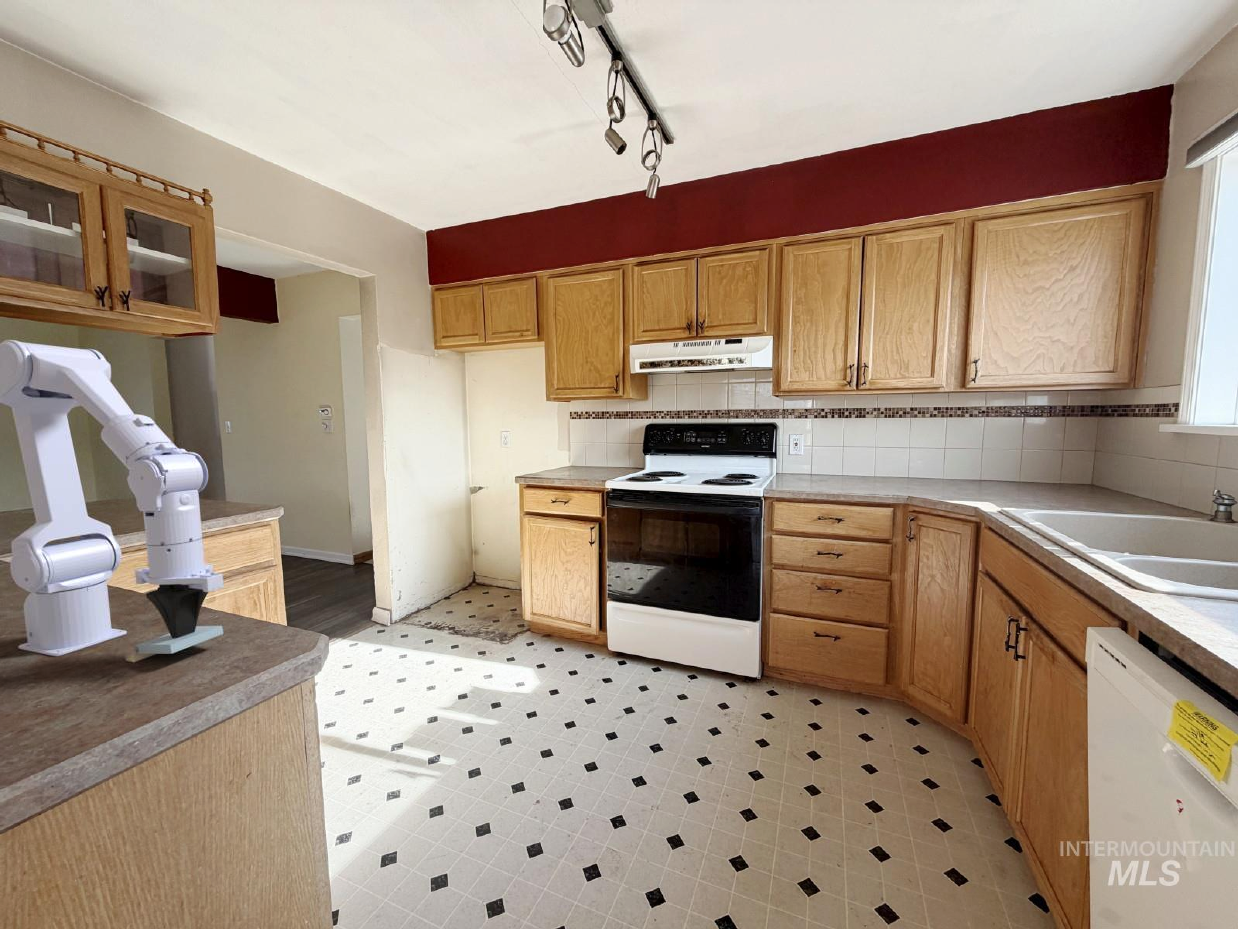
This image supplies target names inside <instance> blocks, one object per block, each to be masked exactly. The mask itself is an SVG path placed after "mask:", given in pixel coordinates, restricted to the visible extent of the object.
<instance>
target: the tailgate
mask: <svg viewBox="0 0 1238 929" xmlns="http://www.w3.org/2000/svg"><path fill="white" fill-rule="evenodd" d="M223 628H224V627H223V625H199V626H198V625H196V629H195V632H193V633H191V634H188V635H185V636H182V637H180V638H172V637H171V635H170V633H167V634H165V635H161V636H158V637H155V638H153V639H150V640H146V641H143V642H140V643H139V644H136V645H135V648H134V649H135V651H136V652H138V654H155V655H157V654H159V655H161V654H163V655H164V654H169V655H170V654H174V653H177V652H179V651H182V650H184V649H187V648H190V647H192V646H196V645H198V644H200V643H202V642H207V641H208V640H211V639H214V638H216V637H219V636H221V635H223V634H224V629H223Z"/></svg>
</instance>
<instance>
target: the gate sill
mask: <svg viewBox="0 0 1238 929" xmlns="http://www.w3.org/2000/svg"><path fill="white" fill-rule="evenodd" d="M154 655H156V654H138V652H136V651H135V648H133V649H130V650H127V651H125V652H124V656H125V661H127V662H132V663H136V662H138V661H141V660H143V659H146V658H150V657H152V656H154Z"/></svg>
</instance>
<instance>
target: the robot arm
mask: <svg viewBox="0 0 1238 929" xmlns="http://www.w3.org/2000/svg"><path fill="white" fill-rule="evenodd" d="M111 378H112V367H111V364H110V362H108V361H107V360H106V357H105V356H104V355H103V354H102V353H101V352H100V351H98V350H96V349H93V348H77V347H76V348H75V347H74V348H73V347H66V346H58V345H57V346H56V345H50V344H40V343H32V342H24V341H18V340H15V339H5V340H4V341H2V342H0V403H1V404H3V405H6V406H8V407H10V408H11V411H12V416H13V421H14V424H15V429H16V433H17V439H18V442H19V447H20V451H21V452H20V453H21V456H22V461H23V467H24V470H25V475H26V481H27V485H28V489H29V494H30V499H31V503H32V508H33V513H34V518H35V523H34V524H33V525H32V526H30V527H29V528H28V529H26V530H25V531H24V532H22V533H21V534H19V535H18V536H17V537H16V538H14V540H12V541H11V543H10V544H11V561H10V566H9V568H10V574H11V577H12V579H13V581H14V583H15V584H16V585H17V586H18V587H20V588H21V589H23V590H24V591H26V592H28V593H29V594H28V596H27V597H26V598H25V600H24V603H23V614H24V622H25V631H26V638H27V642H26V643H21V644H20V645H18V649H20V650H24V651H28V652H33V653H38V654H43V655H47V656H52V657H60V656H64V655H66V654H70V653H72V652H75V651H79V650H82V649H84V648H88V647H91V646H94V645H97V644H99V643H103V642H106V641H109V640H112V639H115V638H118V637H121V636H124V635H127V632H128V631H127V630H122V629H118V628H112V623H111V621H112V620H111V611H110V610H111V608H110V602H109V601H110V600H109V590H108V582H107V580H109V579H112V578H113V573H115V572H116V570H118V568H119V566H120V565H121V562H122V558H123V557H122V549H121V546H120V545H119V543H118V542H117V539H115V537H114V534H113V530H112V527H111V526H110V525H109V524H107V523H104V522H103V521H99V520H96V519H94V518H92V517H90V516H89V515H88V514H89V513H88V510H87V506H86V500H85V497H84V490H83V487H82V481H81V478H80V473H79V472H80V471H79V468H78V467H79V466H78V463H77V458H76V453H75V449H74V444H73V439H72V435H71V430H70V425H69V419H68V414H69V413H70V411H71V410H72V409H74V408H76V407H82V408H84V409H85V410H86V411H87V412H88V413H89V414H90V415H91V416H92V417H94V419H96V420H97V422H99V423H100V424H101V425H102V426H103V428H102V429H101V432H100V438H101V439H102V442H104V444H105V445H106V446H107V447H108V448H109V449H110V450H111V451H112V452H113V453H114V455H115V456H116V457H117V458H118V460H119V461H121V463H122V464H123V465H124V466H125V467H126V468H127V469H128V470H129V471H128V476H127V477H126V478H127V483H128V487H129V489H130V491H131V492H132V493H133V495H134V496H135V499H136V500H135V501H136V507H137V508H138V511H140V512H142V513H143V520H144V521H143V523H144V531H145V541H146V542H145V543H146V554H147V565H148V567H145V568H140V569H136V570H134V571H135V572H134V573H135V583H136V584H137V585H143V584H146V583H148V584H149V585H155V586H156V585H158V587H157V589H155V590H154V589H153V590H151V591H148V592H146V593H145V597H146V598H147V600H148V601H149V602H151V603H152V604H153V606H154V607H155V608H156V610H157V611H158V612H159V614H160V616H161V617H162V619H163V622H164V624H165V626H166V629H167V631H168V632H169V633H170V635H171V637H172V638H180V637H182V636H185V635H188V634H191V633H193V632H195V629H196V626H198V625H197V623H198V620H199V615H200V611H201V609H202V606H203V604H204V601H205V599H206V598H207V595H208V594H209V593H210V592H213V591H214V592H215V591H218V590H220V589H224V586H225V585H224V576H223V575H224V574H223V573H217V572H216V571H213V570H214V564H208V563H205V554H204V542H203V530H202V518H201V508H200V507H201V506H200V497H199V492H202V491H203V490H204V489H205V488H206V486H207V484H208V481H209V470H208V467H207V464H206V463H205V460H204V459H203V458H202V456H201V455H200V454H198V453H196V452H193V451H187V450H186V449H185V448H179V447H178V446H176V444H175V443H174V442H173V441H172V440H171V439H170V437H168V436H167V435H166V434H165V433H164V432H163V431H162V429H161V428H160V427H159V426H158V425H157V424H156V422H155V421H154V420H153V419H152V418H151V417H149V416H146V415H144V414H139V413H138V414H135V413H134V411H133V410H132V409H131V408H130V406H129V405H128V403H127V402H126V401H125V399H124V398H123V397H122V395H121V394H120V393H119V391H118V390H117V389H116V387H115V385H113V383H112V381H111ZM72 537H73V538H74V537H81V538H79V539H72V540H67V541H61V542H56V543H55V542H54V543H49V542H52V541H56V540H62V539H68V538H72ZM169 633H168V634H169Z"/></svg>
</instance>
